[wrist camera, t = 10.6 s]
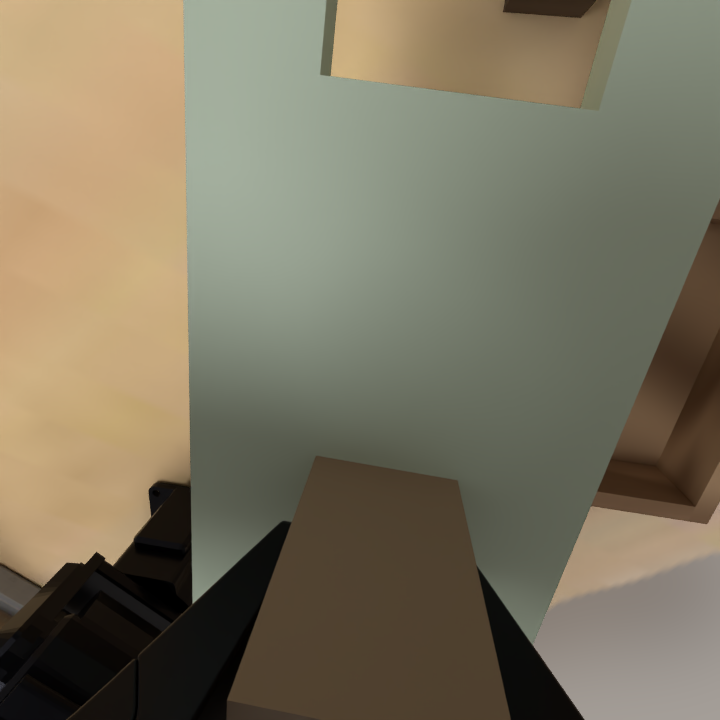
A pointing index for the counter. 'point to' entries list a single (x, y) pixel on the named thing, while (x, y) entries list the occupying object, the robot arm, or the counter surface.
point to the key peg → (549, 7)
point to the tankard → (13, 594)
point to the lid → (421, 337)
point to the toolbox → (676, 409)
